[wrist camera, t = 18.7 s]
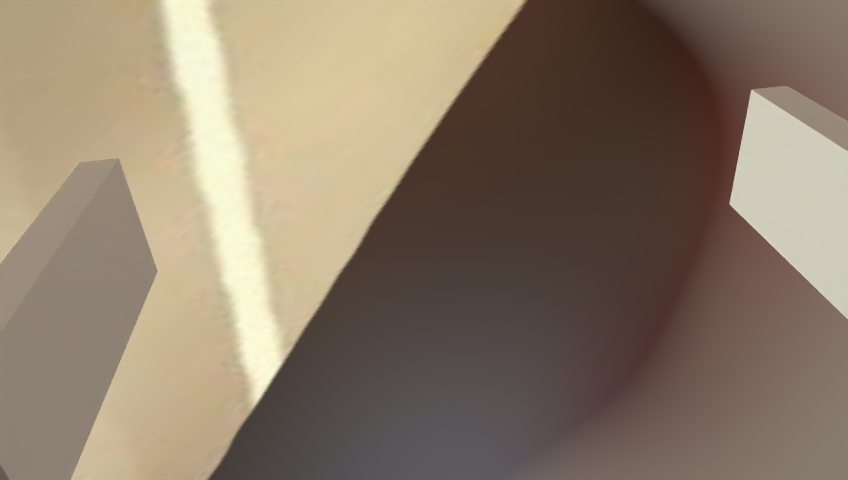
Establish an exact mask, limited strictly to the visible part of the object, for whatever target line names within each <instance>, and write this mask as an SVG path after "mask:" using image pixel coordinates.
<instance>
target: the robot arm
mask: <svg viewBox="0 0 848 480" xmlns="http://www.w3.org/2000/svg"><path fill="white" fill-rule="evenodd" d="M730 205H731V206H732V207H733V208H734V209H735V210H736V211H737V212H738V213H739V214H740V215H741V216H742V217H743V218H744V219H745V220H746V221H747V222H748V223H749V224H750V225H751V226H752V227H753V228H755V229H756V230H757V231H758V232H759V233H760V234H761V235H762V236H763V237H764V238H765V239H766V240H767V241H768V242H769V243H770V244H771V245H772V246H773V247H774V248H775V249H776V250H777V251H778V252H779V253H780V254H781V255H782V256H783V257H784V258H785V259H786V260H787V261H789V263H790V264H792V265H793V266H794V267H795V268H796V269H797V270H798V271H799V272H800V273H801V274H802V275H803V276H804V277H805V278H806V279H807V280H808V281H809V282H810V283H811V284H812V285H813V286H814V287H815V288H816V289H817V290H818V291H819V292H820V293H821V294H822V295H823V296H824V297H826V299H827V300H829V301H830V302H831V303H832V304H833V305H834V306H835V307H836V308H837V309H838V310H839V311H840V312H841V313H842V314H843V315H844V316H845V317H846V318H847V319H848V121H846V120H844V119H843V118H841V117H839V116H838V115H836V114H834V113H832V112H831V111H829V110H827V109H826V108H824V107H822V106H820V105H819V104H817V103H815V102H813V101H812V100H810V99H808V98H807V97H805V96H803V95H801V94H799V93H798V92H796V91H794V90H793V89H791V88H789V87H788V86H782V87H773V88H763V89H755V90H751V95H750V100H749V106H748V111H747V116H746V121H745V126H744V132H743V138H742V142H741V147H740V152H739V158H738V163H737V169H736V173H735V179H734V184H733V189H732V194H731V200H730ZM156 273H157V268H156V265H155V263H154V260H153V257H152V254H151V251H150V248H149V245H148V242H147V239H146V236H145V233H144V231H143V228H142V225H141V222H140V219H139V216H138V213H137V210H136V207H135V204H134V201H133V199H132V196H131V193H130V190H129V187H128V184H127V181H126V178H125V175H124V172H123V169H122V167H121V164H120V161H119V158H117V159H108V160H99V161H90V162H81V163H79V164H78V166H77V167H76V168H75V169H74V171H73V172H72V173H71V175H70V176H69V177H68V178H67V180H66V181H65V182H64V183H63V185H62V186H61V187H60V189H59V190H58V191H57V192H56V194H55V195H54V196H53V198H52V199H51V200H50V201H49V203H48V204H47V205H46V206H45V208H44V209H43V210H42V212H41V213H40V214H39V215H38V217H37V218H36V219H35V220H34V222H33V223H32V224H31V226H30V227H29V228H28V229H27V231H26V232H25V233H24V234H23V236H22V237H21V238H20V240H19V241H18V242H17V243H16V245H15V246H14V247H13V249H12V250H11V251H10V252H9V254H8V255H7V256H6V257H5V259H4V260H3V261H2V263H1V264H0V480H71V477H72V475H73V473H74V470H75V468H76V465H77V463H78V461H79V458H80V456H81V453H82V451H83V449H84V446H85V444H86V441H87V439H88V437H89V434H90V432H91V429H92V427H93V425H94V422H95V420H96V417H97V415H98V413H99V410H100V408H101V405H102V403H103V401H104V398H105V396H106V393H107V391H108V389H109V386H110V384H111V381H112V379H113V377H114V374H115V372H116V369H117V367H118V365H119V362H120V360H121V357H122V355H123V353H124V350H125V348H126V345H127V343H128V341H129V338H130V336H131V333H132V331H133V329H134V326H135V324H136V321H137V319H138V317H139V314H140V312H141V309H142V307H143V305H144V302H145V300H146V297H147V295H148V293H149V290H150V288H151V285H152V283H153V281H154V278H155V276H156Z"/></svg>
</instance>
